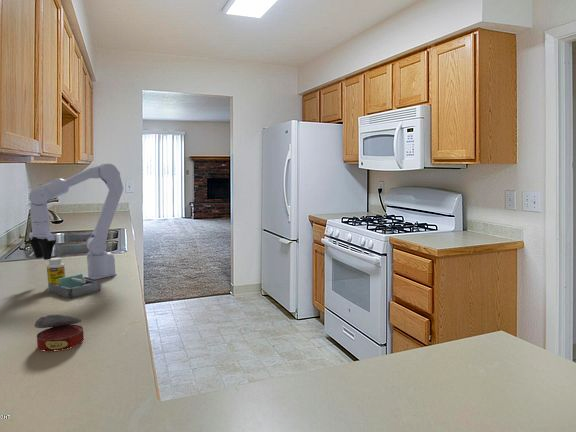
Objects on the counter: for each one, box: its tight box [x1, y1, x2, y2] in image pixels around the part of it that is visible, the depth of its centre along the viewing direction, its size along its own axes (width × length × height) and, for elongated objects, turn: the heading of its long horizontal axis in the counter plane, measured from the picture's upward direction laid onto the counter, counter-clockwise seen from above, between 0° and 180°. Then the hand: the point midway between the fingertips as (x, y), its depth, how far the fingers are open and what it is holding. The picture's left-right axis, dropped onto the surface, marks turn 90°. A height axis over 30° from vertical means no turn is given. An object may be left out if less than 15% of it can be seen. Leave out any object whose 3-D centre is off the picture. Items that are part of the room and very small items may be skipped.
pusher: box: [59, 273, 86, 288], centre depth 150 cm, size 8×9×5 cm
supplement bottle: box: [46, 257, 66, 288], centre depth 158 cm, size 6×6×10 cm
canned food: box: [34, 314, 85, 351], centre depth 105 cm, size 11×10×10 cm
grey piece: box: [47, 277, 101, 299], centre depth 151 cm, size 11×14×3 cm
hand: (43, 258), depth 162 cm, fingers open, 5 cm apart
